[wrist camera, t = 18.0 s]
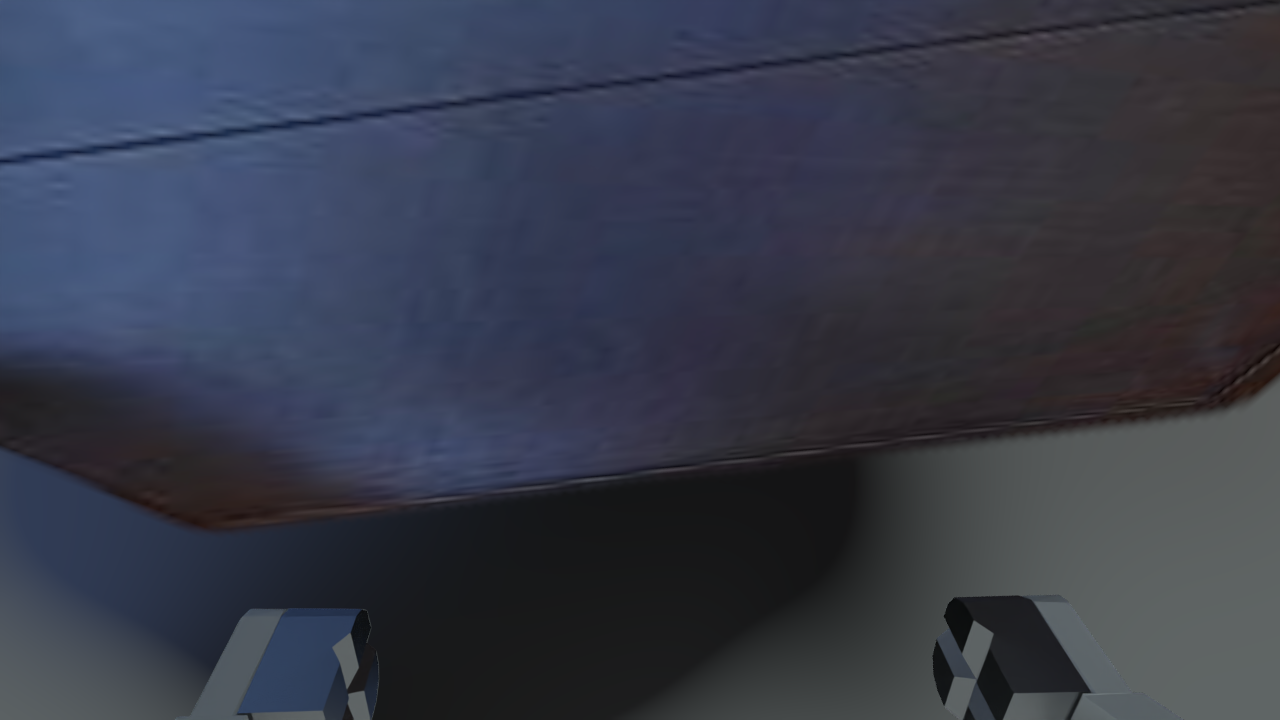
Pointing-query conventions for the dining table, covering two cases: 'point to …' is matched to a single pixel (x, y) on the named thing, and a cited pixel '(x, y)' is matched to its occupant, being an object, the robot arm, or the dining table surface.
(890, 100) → the dining table surface
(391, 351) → the dining table surface
